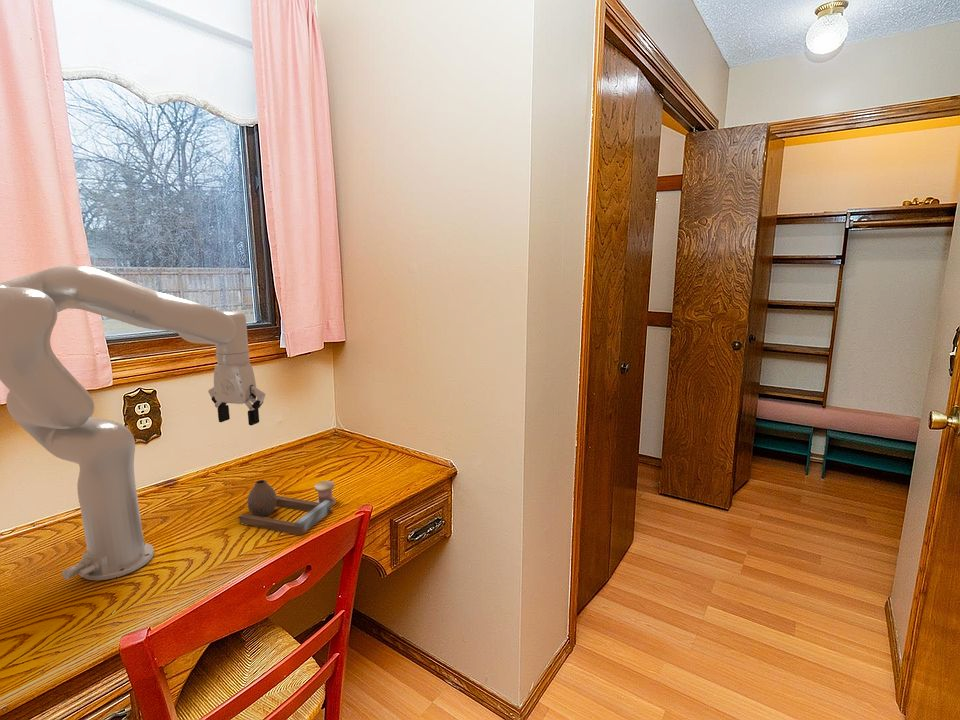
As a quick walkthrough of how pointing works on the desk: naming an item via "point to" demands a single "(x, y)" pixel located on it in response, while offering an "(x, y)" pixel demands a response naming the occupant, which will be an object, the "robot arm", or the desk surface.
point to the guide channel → (297, 528)
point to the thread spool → (325, 491)
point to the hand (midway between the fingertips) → (239, 422)
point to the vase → (262, 499)
